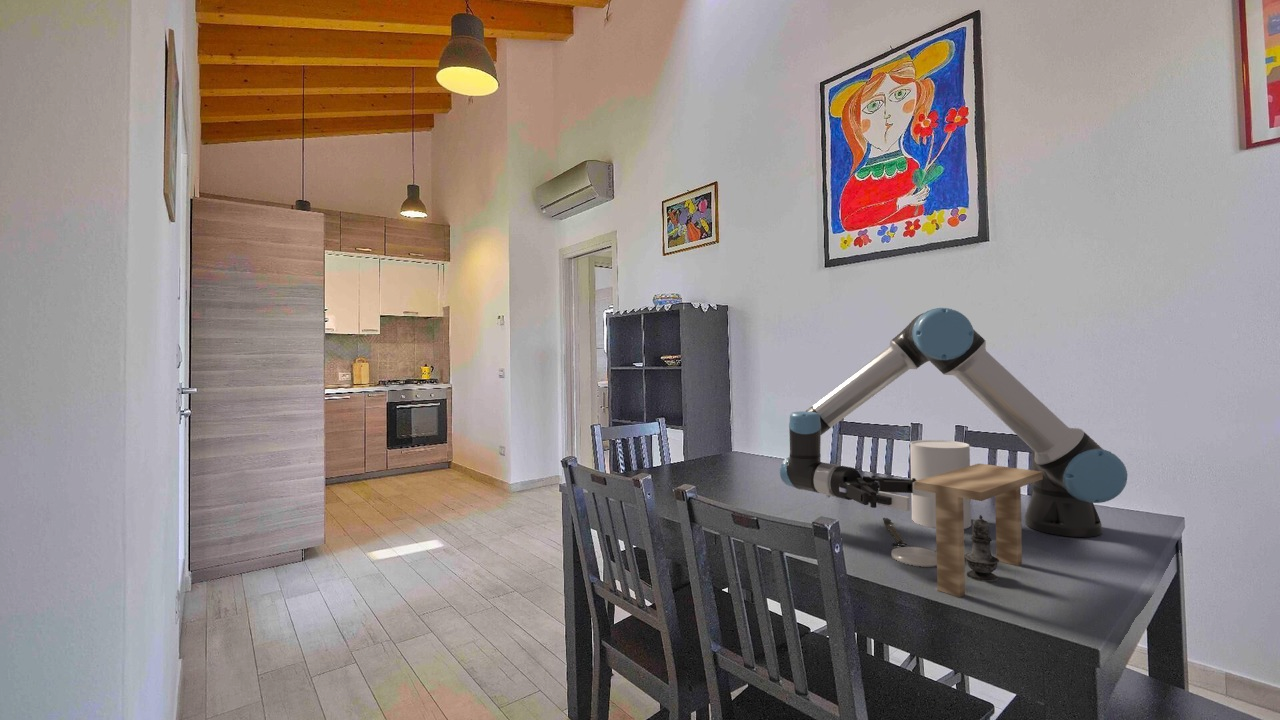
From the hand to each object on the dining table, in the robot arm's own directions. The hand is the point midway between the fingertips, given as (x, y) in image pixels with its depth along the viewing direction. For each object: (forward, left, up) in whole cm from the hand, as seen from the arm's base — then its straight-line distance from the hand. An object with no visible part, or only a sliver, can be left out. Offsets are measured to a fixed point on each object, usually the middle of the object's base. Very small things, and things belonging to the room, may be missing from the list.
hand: (926, 498), depth 122 cm
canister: (-15, -29, -13) cm, 36 cm away
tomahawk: (-1, -20, -14) cm, 24 cm away
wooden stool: (-7, +8, -13) cm, 17 cm away
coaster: (+1, -2, -13) cm, 14 cm away
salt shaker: (-7, +8, -13) cm, 17 cm away
